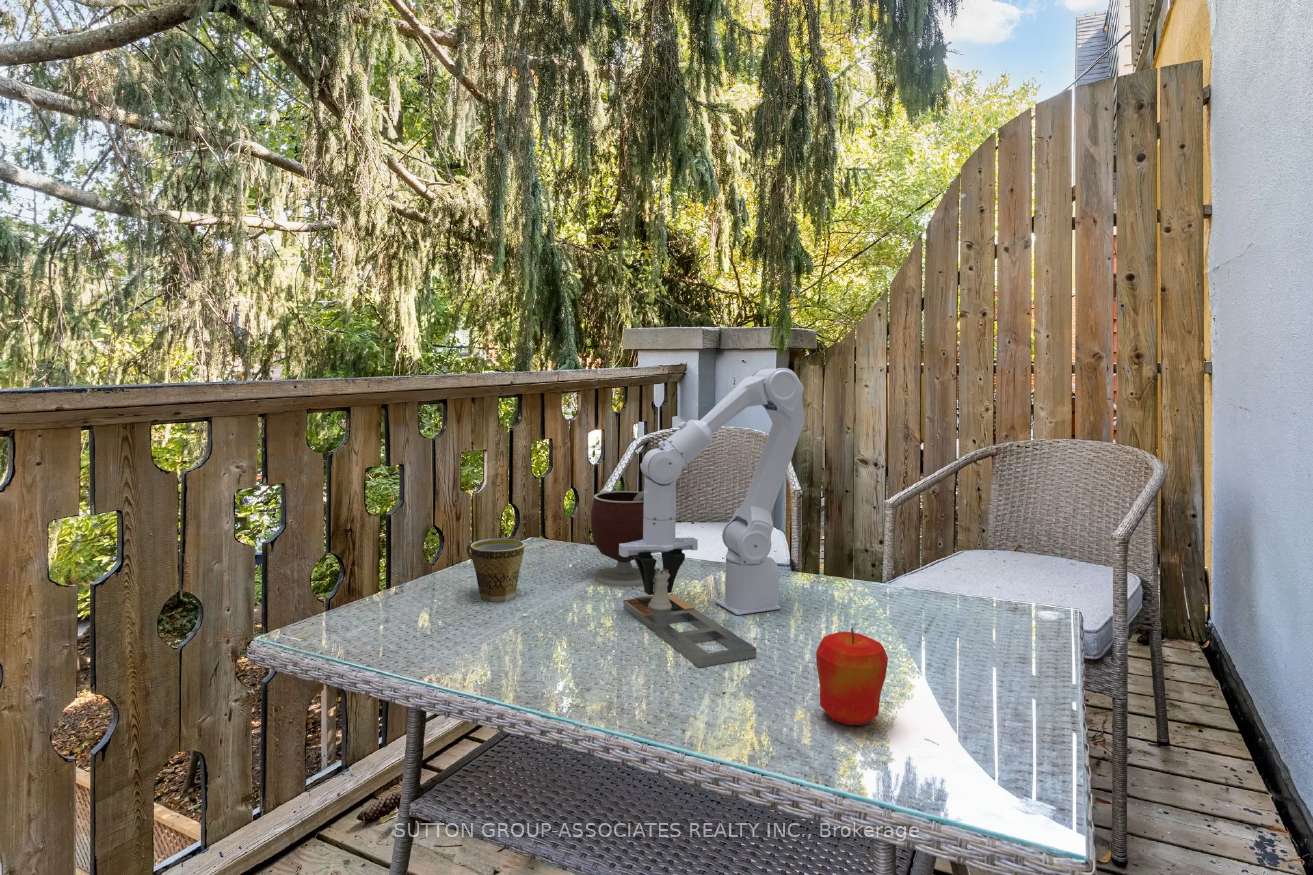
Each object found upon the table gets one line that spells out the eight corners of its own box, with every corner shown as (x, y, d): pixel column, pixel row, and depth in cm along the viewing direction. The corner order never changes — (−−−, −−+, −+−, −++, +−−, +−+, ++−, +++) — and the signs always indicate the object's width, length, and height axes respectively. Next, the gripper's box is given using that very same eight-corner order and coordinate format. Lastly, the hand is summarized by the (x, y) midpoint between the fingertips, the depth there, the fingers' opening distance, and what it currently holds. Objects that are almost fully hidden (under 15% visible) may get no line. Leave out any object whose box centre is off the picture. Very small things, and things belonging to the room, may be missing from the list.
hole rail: (672, 602, 140) (672, 593, 140) (756, 657, 114) (756, 646, 114) (623, 608, 136) (623, 599, 136) (699, 667, 110) (699, 656, 110)
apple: (809, 727, 92) (812, 633, 91) (819, 699, 100) (822, 612, 99) (881, 740, 89) (886, 644, 88) (886, 710, 97) (891, 621, 96)
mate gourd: (576, 576, 156) (577, 481, 154) (627, 565, 166) (629, 475, 164) (625, 593, 145) (626, 491, 143) (676, 580, 154) (678, 484, 152)
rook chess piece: (664, 619, 130) (665, 574, 130) (642, 614, 133) (643, 570, 132) (676, 613, 134) (678, 569, 133) (655, 608, 136) (656, 565, 136)
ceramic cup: (535, 594, 143) (535, 543, 142) (498, 608, 135) (498, 553, 134) (486, 583, 150) (486, 533, 149) (447, 595, 142) (447, 543, 141)
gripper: (630, 524, 126) (629, 603, 127) (706, 518, 132) (704, 594, 133) (614, 516, 132) (613, 591, 134) (688, 511, 139) (686, 583, 140)
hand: (658, 592), depth 134 cm, fingers closed on rook chess piece, 3 cm apart
